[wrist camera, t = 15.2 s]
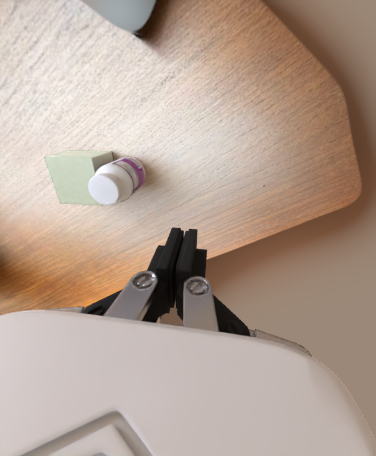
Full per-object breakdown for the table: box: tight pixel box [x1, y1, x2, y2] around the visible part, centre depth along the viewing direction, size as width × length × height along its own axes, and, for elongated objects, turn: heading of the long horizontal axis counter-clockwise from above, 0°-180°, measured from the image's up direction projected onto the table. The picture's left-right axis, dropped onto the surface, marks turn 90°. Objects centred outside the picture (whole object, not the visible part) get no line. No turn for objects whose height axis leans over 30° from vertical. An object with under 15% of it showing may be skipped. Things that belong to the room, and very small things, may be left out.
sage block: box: [44, 150, 113, 206], centre depth 30 cm, size 7×7×6 cm
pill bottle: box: [88, 156, 146, 205], centre depth 28 cm, size 5×5×10 cm
